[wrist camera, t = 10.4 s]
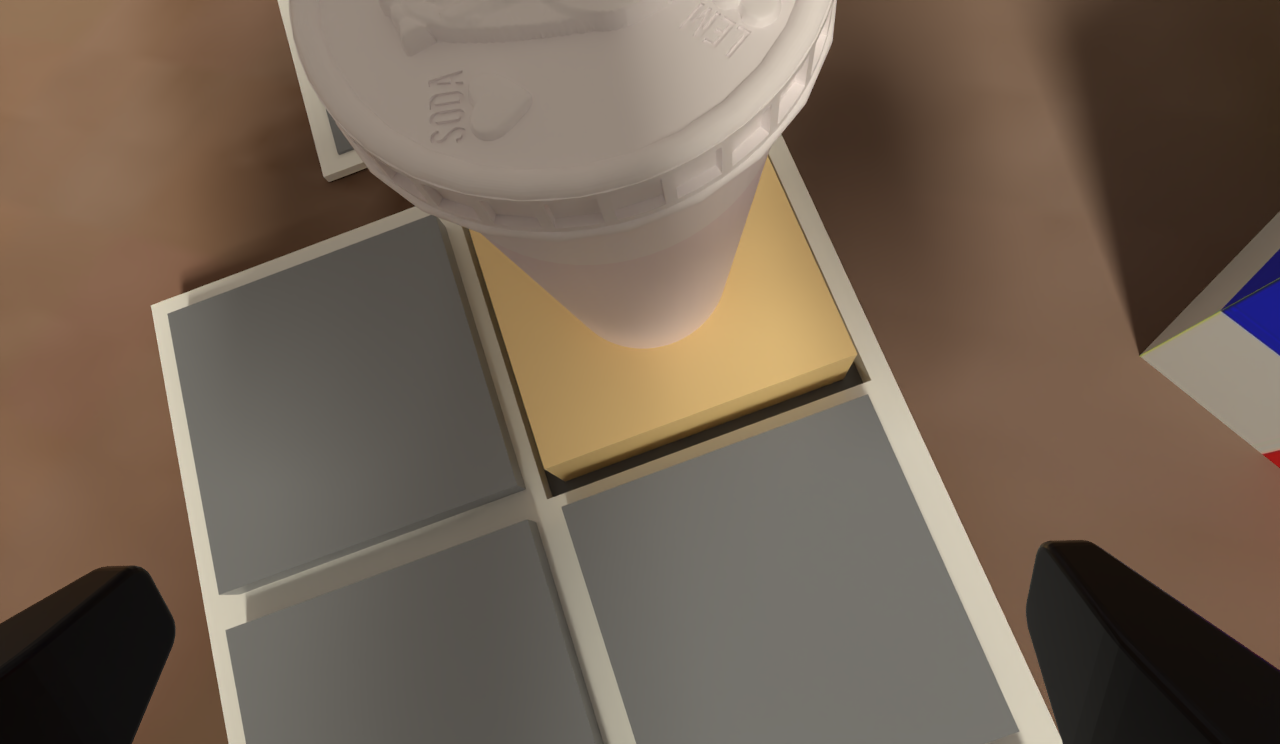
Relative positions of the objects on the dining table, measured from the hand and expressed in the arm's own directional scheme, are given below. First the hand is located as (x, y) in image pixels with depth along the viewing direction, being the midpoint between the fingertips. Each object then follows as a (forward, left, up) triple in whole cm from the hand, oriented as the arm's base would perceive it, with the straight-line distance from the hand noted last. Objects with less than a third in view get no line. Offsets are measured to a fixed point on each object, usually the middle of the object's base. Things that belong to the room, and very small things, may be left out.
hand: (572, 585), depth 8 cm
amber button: (+7, -2, -11) cm, 13 cm away
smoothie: (+7, -2, -9) cm, 11 cm away
